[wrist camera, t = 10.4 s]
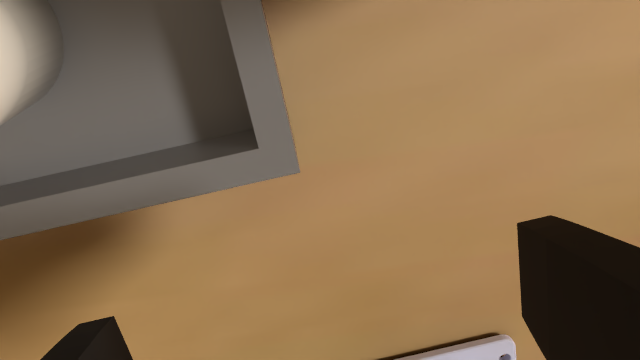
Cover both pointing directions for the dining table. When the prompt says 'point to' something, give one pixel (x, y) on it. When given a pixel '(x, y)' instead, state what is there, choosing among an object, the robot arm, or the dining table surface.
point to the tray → (146, 113)
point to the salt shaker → (27, 54)
